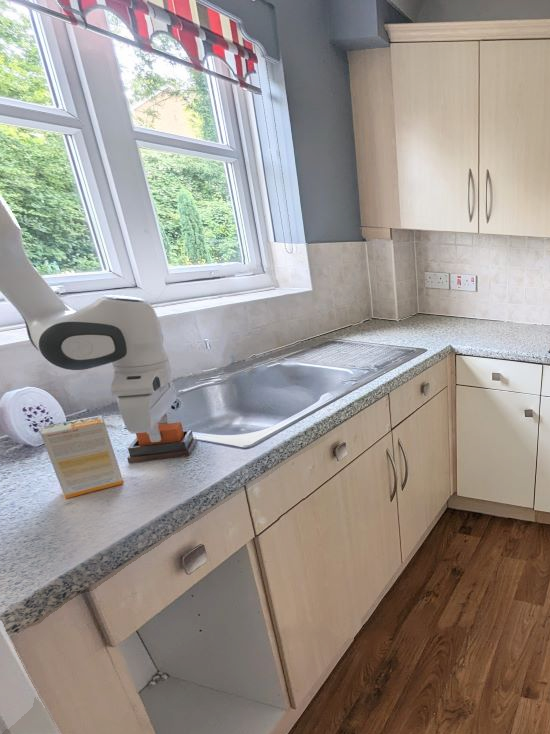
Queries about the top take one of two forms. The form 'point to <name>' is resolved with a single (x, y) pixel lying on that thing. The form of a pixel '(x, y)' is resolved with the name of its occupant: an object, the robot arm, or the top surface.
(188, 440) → the dark grey tray
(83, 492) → the supplement box
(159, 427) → the block
